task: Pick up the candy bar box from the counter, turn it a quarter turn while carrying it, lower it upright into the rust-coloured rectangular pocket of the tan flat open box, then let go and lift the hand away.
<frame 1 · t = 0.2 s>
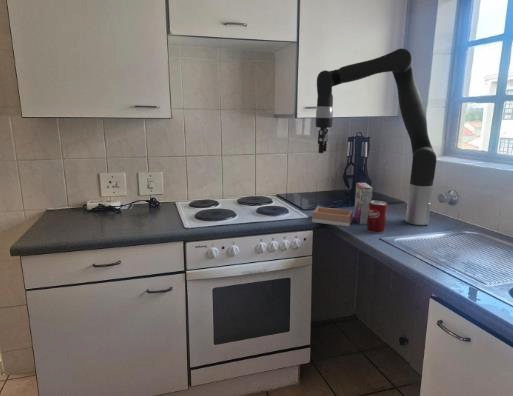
hand: (322, 152, 178), 29 cm above the worktop, tool pointing down, fingers open, 8 cm apart
candy bar box: (361, 221, 171), on the worktop
soda can: (375, 231, 158), on the worktop
tan flat open box: (332, 221, 170), on the worktop
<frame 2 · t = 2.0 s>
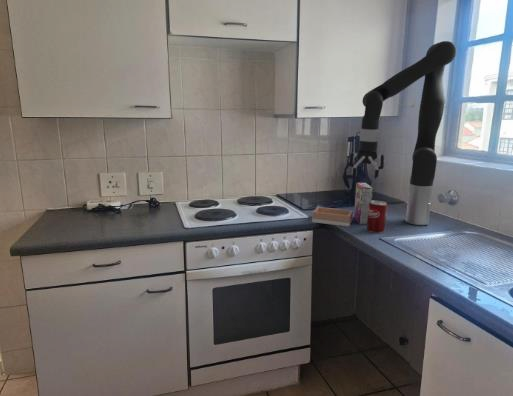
hand: (365, 177, 166), 20 cm above the worktop, tool pointing down, fingers open, 8 cm apart
nothing on the worktop moved.
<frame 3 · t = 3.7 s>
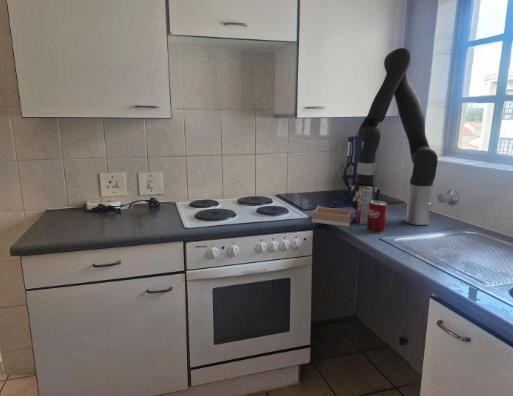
hand: (362, 209, 170), 5 cm above the worktop, tool pointing down, fingers closed on candy bar box, 6 cm apart
candy bar box: (361, 221, 171), on the worktop, touching gripper
everything else where it was.
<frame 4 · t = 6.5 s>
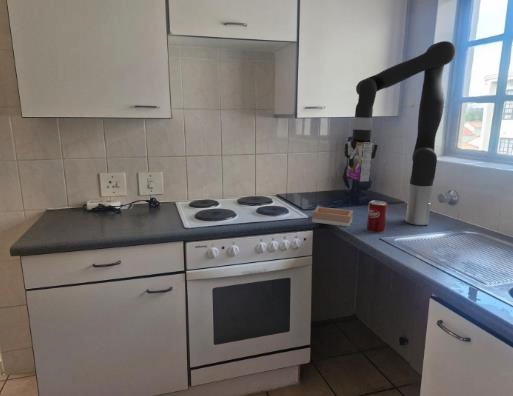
hand: (358, 167, 165), 24 cm above the worktop, tool pointing down, fingers closed on candy bar box, 6 cm apart
candy bar box: (357, 179, 166), point 19 cm above the worktop, touching gripper
everything else where it was.
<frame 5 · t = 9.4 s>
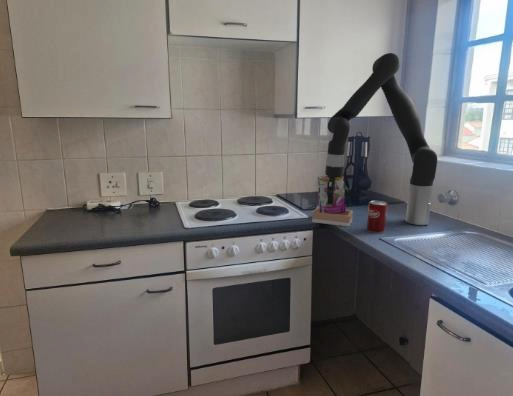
hand: (331, 202, 168), 9 cm above the worktop, tool pointing down, fingers closed on candy bar box, 6 cm apart
candy bar box: (332, 213, 169), point 4 cm above the worktop, touching tan flat open box, gripper
everything else where it was.
when the fingers open (9 cm above the worktop, at t = 10.2 s): candy bar box stays where it is, resting on tan flat open box.
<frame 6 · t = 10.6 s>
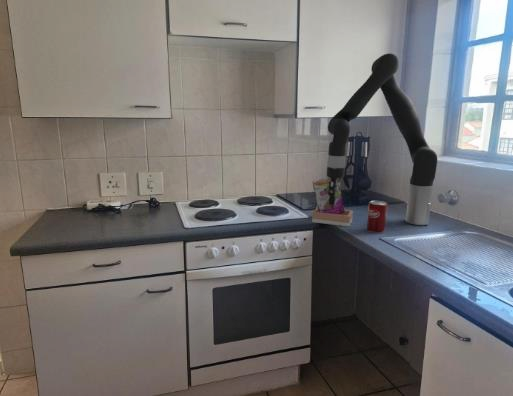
hand: (333, 202, 168), 9 cm above the worktop, tool pointing down, fingers open, 8 cm apart
candy bar box: (332, 214, 170), point 3 cm above the worktop, touching tan flat open box
everything else where it was.
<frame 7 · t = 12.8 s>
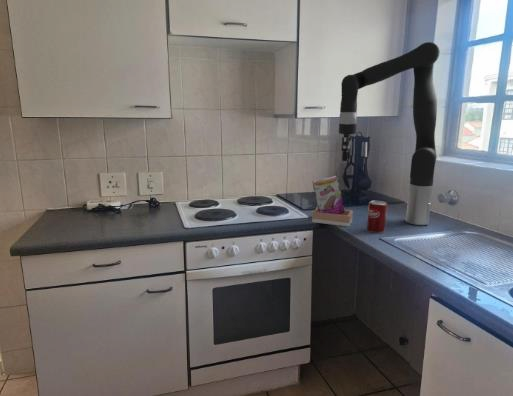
hand: (345, 159, 171), 27 cm above the worktop, tool pointing down, fingers open, 8 cm apart
nothing on the worktop moved.
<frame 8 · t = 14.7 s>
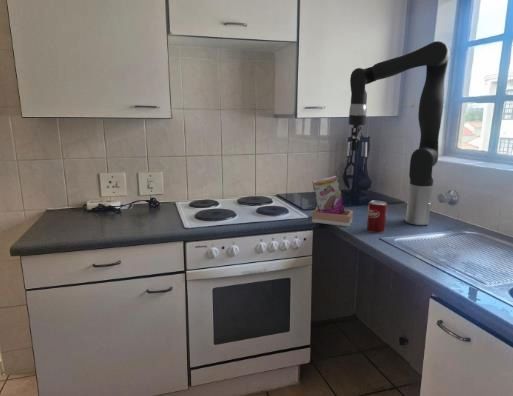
hand: (354, 149, 179), 30 cm above the worktop, tool pointing down, fingers open, 8 cm apart
nothing on the worktop moved.
at the end: candy bar box 0.6 cm off-centre on the tan flat open box, point 2.9 cm above the tan flat open box's base; candy bar box tilted 16°; the gripper is holding nothing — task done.
